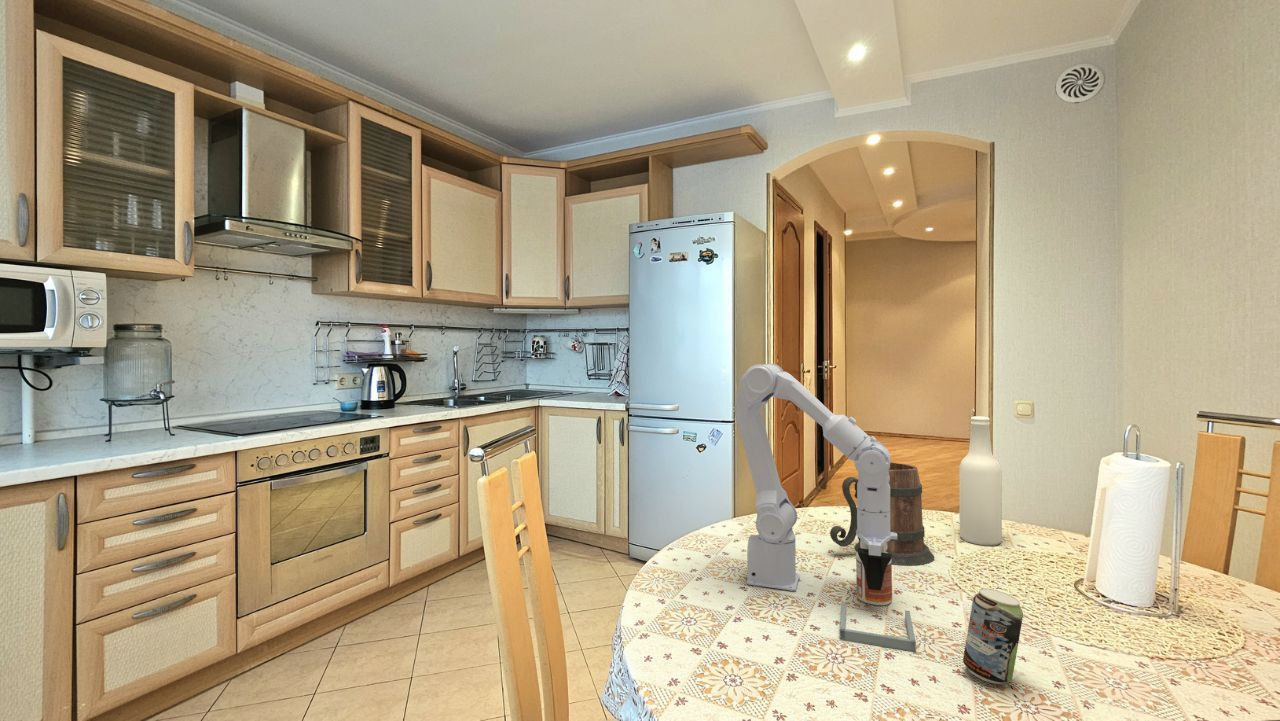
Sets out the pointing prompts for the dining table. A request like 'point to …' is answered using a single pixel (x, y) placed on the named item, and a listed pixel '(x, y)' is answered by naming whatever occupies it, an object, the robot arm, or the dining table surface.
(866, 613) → the dining table surface
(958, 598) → the dining table surface
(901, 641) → the bracket
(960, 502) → the alcohol
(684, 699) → the dining table surface
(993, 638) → the beverage can
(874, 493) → the robot arm
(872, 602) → the pill bottle
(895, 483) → the tankard
